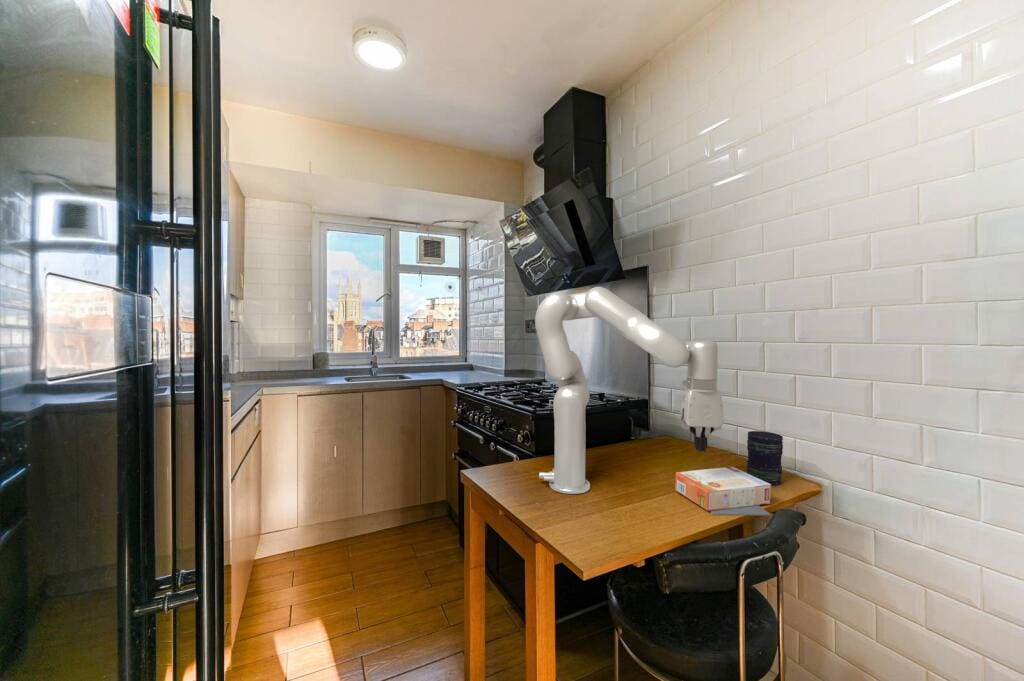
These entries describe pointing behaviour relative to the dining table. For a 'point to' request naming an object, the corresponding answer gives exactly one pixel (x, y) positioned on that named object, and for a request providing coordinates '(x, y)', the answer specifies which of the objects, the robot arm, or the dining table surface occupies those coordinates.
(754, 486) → the cracker box
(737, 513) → the mat
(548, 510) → the dining table surface
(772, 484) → the storage jar
